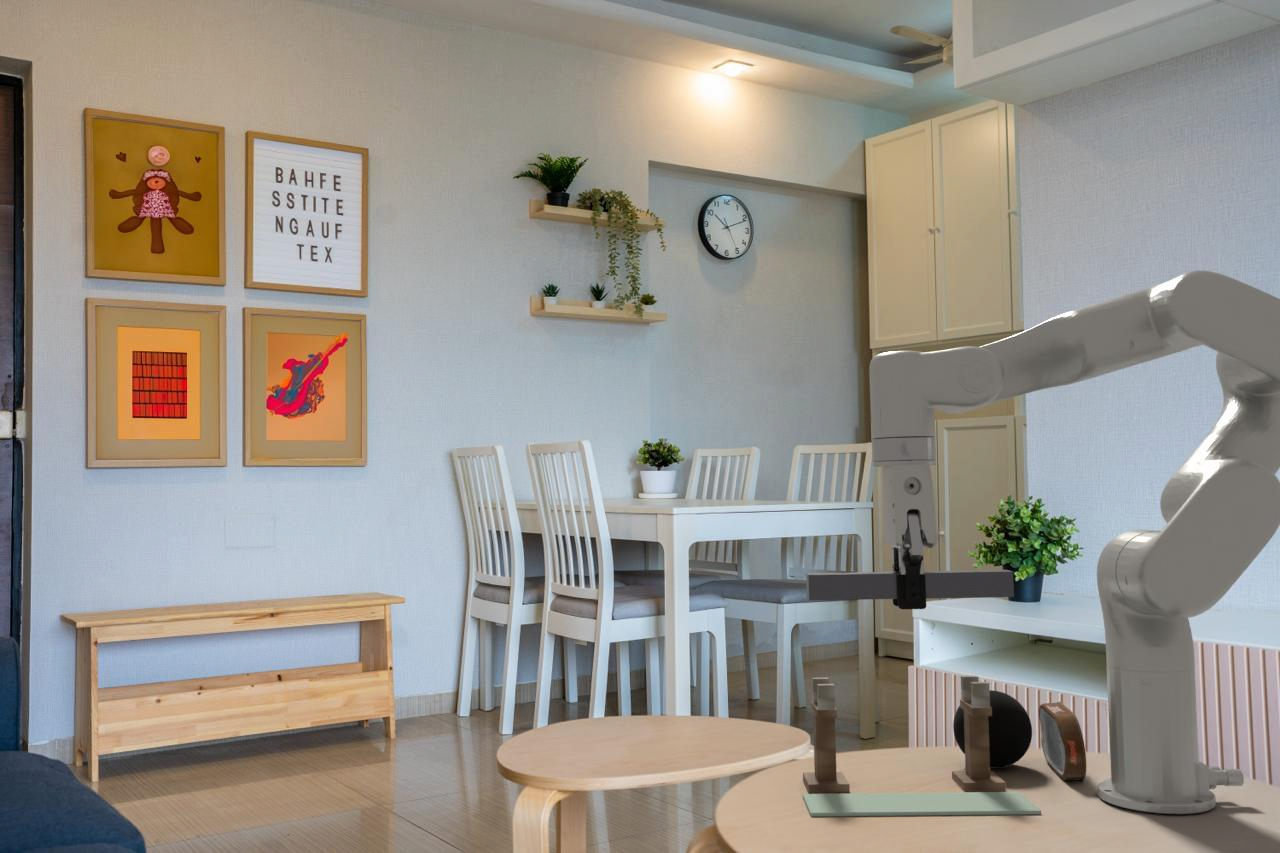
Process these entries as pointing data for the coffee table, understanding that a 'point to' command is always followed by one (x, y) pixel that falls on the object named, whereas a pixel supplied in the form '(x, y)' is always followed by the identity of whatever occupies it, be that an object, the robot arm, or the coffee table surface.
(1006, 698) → the decorative ball
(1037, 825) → the coffee table surface
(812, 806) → the mat
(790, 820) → the coffee table surface
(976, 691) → the rack
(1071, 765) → the tin
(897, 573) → the rail
